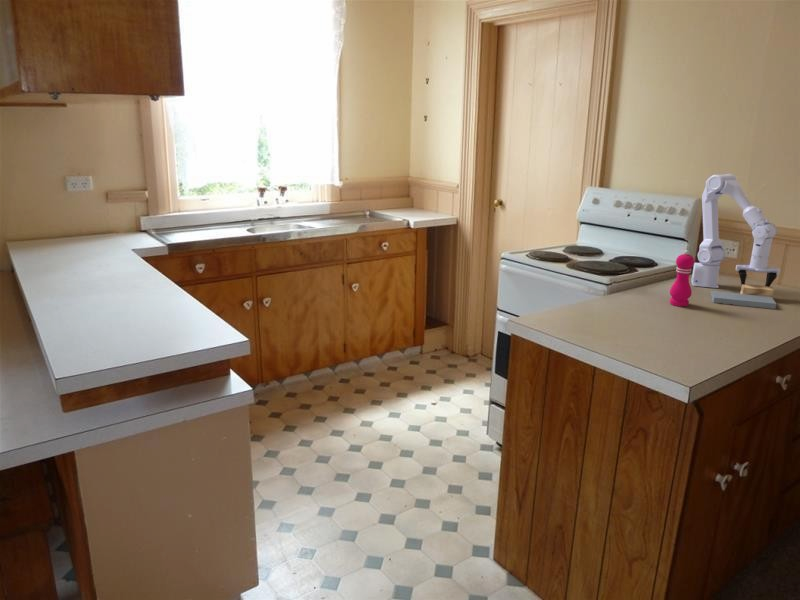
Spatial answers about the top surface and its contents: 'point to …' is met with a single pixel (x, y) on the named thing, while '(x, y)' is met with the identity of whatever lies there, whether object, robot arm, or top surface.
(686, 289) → the pepper mill
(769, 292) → the oak bar
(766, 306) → the slate board
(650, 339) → the top surface
